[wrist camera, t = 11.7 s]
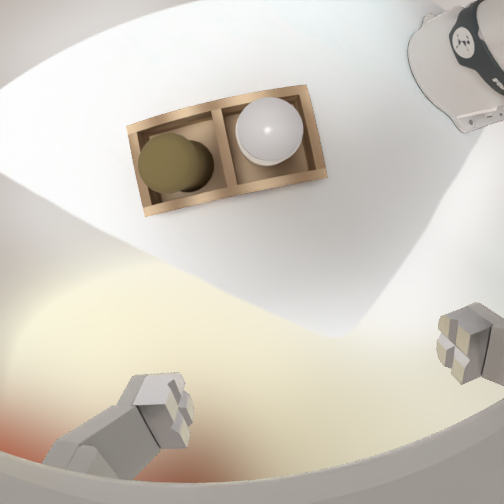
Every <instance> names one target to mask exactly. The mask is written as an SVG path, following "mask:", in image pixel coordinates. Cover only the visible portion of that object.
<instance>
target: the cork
mask: <svg viewBox="0 0 504 504" xmlns="http://www.w3.org/2000/svg"><path fill="white" fill-rule="evenodd" d="M138 171H139V174H140V177H141V179H142V180H143V182H144V183H145V185H147V186H148V187H149V188H151V189H152V190H153V191H156V192H159V193H162V194H172V193H175V192H178V191H181V192H194V191H197V190H200V189H201V188H202V187H204V186H205V185H206V184H207V183H208V182H209V180H210V179H211V177H212V174H213V171H214V160H213V156H212V154H211V152H210V151H209V149H208V148H207V147H206V146H204V145H203V144H202V143H200V142H197V141H194V140H188V139H186V138H185V137H184V136H182V135H179V134H175V133H163V134H160V135H158V136H155V137H153V138H152V139H151V140H149V141H148V142H147V143H146V144H145V146H144V147H143V148H142V150H141V152H140V155H139V158H138Z"/></svg>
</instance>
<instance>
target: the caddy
mask: <svg viewBox="0 0 504 504" xmlns="http://www.w3.org/2000/svg"><path fill="white" fill-rule="evenodd" d="M265 97H274V98H279V99H282V100H284V101H286V102H288V103H289V104H291V105H292V106H293V107H294V108H295V109H296V110H297V111H298V113H299V115H300V117H301V119H302V122H303V136H302V140H301V143H300V146H299V147H298V149H297V150H296V152H295V153H294V154H293V155H292V156H290V157H289V158H288V159H286V160H284V161H282V162H280V163H279V164H277V165H275V166H272V167H267V168H262V167H257V166H254V165H252V164H251V163H249V162H248V161H247V160H246V159H245V158H244V157H243V155H242V153H241V151H240V148H239V145H238V142H237V138H236V123H237V120H238V118H239V116H240V114H241V113H242V111H243V110H244V108H245V107H246V106H247V105H248V104H250V103H251V102H253V101H255V100H257V99H260V98H265ZM127 132H128V138H129V143H130V149H131V154H132V159H133V164H134V169H135V174H136V179H137V183H138V188H139V192H140V197H141V201H142V206H143V210H144V214H145V217H148V216H152V215H156V214H160V213H164V212H168V211H172V210H176V209H180V208H184V207H188V206H192V205H197V204H201V203H205V202H209V201H214V200H218V199H223V198H227V197H232V196H236V195H241V194H246V193H250V192H255V191H260V190H265V189H270V188H275V187H280V186H285V185H290V184H296V183H301V182H307V181H312V180H318V179H323V178H328V177H327V172H326V167H325V162H324V157H323V152H322V148H321V143H320V138H319V134H318V129H317V125H316V121H315V116H314V112H313V108H312V104H311V100H310V96H309V92H308V88H307V84H306V85H298V86H291V87H284V88H277V89H271V90H265V91H259V92H254V93H248V94H243V95H238V96H233V97H228V98H224V99H219V100H215V101H211V102H206V103H202V104H198V105H194V106H191V107H187V108H183V109H179V110H176V111H172V112H169V113H165V114H162V115H159V116H155V117H152V118H149V119H146V120H143V121H140V122H137V123H134V124H131V125H128V126H127ZM163 133H175V134H179V135H182V136H184V137H185V138H186V139H188V140H194V141H197V142H200V143H202V144H203V145H204V146H206V147H207V148H208V149H209V151H210V152H211V154H212V156H213V160H214V171H213V174H212V177H211V179H210V180H209V182H208V183H207V184H206V185H205V186H204V187H202V188H201V189H200V190H197V191H194V192H181V191H178V192H175V193H172V194H162V193H159V192H156V191H153V190H152V189H151V188H149V187H148V186H147V185H145V183H144V182H143V180H142V179H141V177H140V174H139V171H138V158H139V155H140V152H141V150H142V148H143V147H144V146H145V144H146V143H147V142H148V141H149V140H151V139H152V138H153V137H155V136H158V135H160V134H163Z"/></svg>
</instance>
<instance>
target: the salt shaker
mask: <svg viewBox="0 0 504 504" xmlns="http://www.w3.org/2000/svg"><path fill="white" fill-rule="evenodd" d="M302 136H303V122H302V119H301V117H300V115H299V113H298V111H297V110H296V109H295V108H294V107H293V106H292V105H291V104H289V103H288V102H286V101H284V100H282V99H279V98H274V97H265V98H260V99H257V100H255V101H253V102H251V103H250V104H248V105H247V106H246V107H245V108H244V110H243V111H242V113H241V114H240V116H239V118H238V120H237V123H236V138H237V142H238V145H239V148H240V151H241V153H242V155H243V157H244V158H245V159H246V160H247V161H248V162H249V163H251V164H252V165H254V166H257V167H262V168H267V167H272V166H275V165H277V164H279V163H280V162H282V161H284V160H286V159H288V158H289V157H290V156H292V155H293V154H294V153H295V152H296V150H297V149H298V147H299V146H300V143H301V140H302Z"/></svg>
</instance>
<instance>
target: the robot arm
mask: <svg viewBox="0 0 504 504" xmlns="http://www.w3.org/2000/svg"><path fill="white" fill-rule="evenodd" d="M408 58H409V63H410V67H411V70H412V73H413V75H414V77H415V79H416V81H417V83H418V85H419V86H420V88H421V90H422V91H423V92H424V94H425V95H426V96H427V97H428V99H429V100H430V101H431V102H432V103H433V104H434V105H436V106H437V107H438V108H439V109H441V110H442V111H443V112H445V113H446V114H447V115H448V116H449V117H450V118H451V119H452V120H453V122H454V123H455V125H456V126H457V128H458V129H459V130H460V131H461V132H463V133H467V132H470V131H473V130H476V129H479V128H482V127H485V126H488V125H490V124H494V123H497V122H500V121H503V120H504V0H477V1H475V2H472V3H470V4H469V5H467V6H466V7H465V8H463V7H461V6H455V7H453V8H451V9H449V10H447V11H445V12H444V13H442V14H440V15H438V16H437V15H434V14H428V15H426V16H425V17H424V19H423V23H422V27H421V28H420V29H419V30H417V31H416V32H415V33H414V34H413V35H412V37H411V39H410V41H409V45H408ZM469 122H470V124H469ZM438 329H439V330H440V331H441V335H440V336H439V338H438V340H437V354H438V358H439V360H440V362H441V363H442V364H443V365H444V366H445V367H448V368H452V370H451V374H452V375H453V376H454V377H455V379H456V380H457V381H458V382H459V383H460V384H461V385H462V384H465V383H467V382H469V381H471V380H474V379H476V378H478V377H480V376H482V377H483V378H485V379H487V380H490V381H493V382H495V383H497V384H500V385H502V386H504V318H502V317H500V316H499V315H497V314H496V313H494V312H493V311H491V310H490V309H488V308H487V307H485V306H484V305H482V304H480V303H477V302H475V303H473V304H471V305H468V306H466V307H464V308H461V309H459V310H456V311H453V312H451V313H448V314H446V315H443V316H441V317H440V319H439V324H438ZM184 386H185V382H184V379H183V377H182V375H181V374H180V373H179V372H176V373H175V372H174V373H160V374H143V375H135V376H132V378H131V379H130V381H129V383H128V385H127V387H126V388H125V390H124V392H123V394H122V396H121V397H120V400H119V401H118V403H117V405H116V406H111V407H109V408H107V409H106V410H104V411H103V412H101V413H100V414H98V415H97V416H95V417H93V418H92V419H90V420H88V421H87V422H85V423H84V424H82V425H81V426H79V427H77V428H75V429H74V430H72V431H70V432H69V433H68V434H66V435H64V436H62V437H61V438H59V439H57V440H56V441H55V443H54V445H53V446H52V448H51V449H50V451H49V452H48V454H47V456H46V457H45V459H44V460H43V462H42V464H40V463H37V462H33V461H30V460H27V459H23V458H20V457H17V456H14V455H11V454H8V453H5V452H2V451H0V504H504V398H503V399H502V400H500V401H498V402H496V403H495V404H493V405H491V406H490V407H488V408H486V409H484V410H482V411H480V412H479V413H477V414H475V415H473V416H471V417H469V418H467V419H465V420H463V421H461V422H459V423H457V424H455V425H453V426H450V427H448V428H446V429H444V430H441V431H439V432H437V433H435V434H432V435H430V436H428V437H425V438H422V439H420V440H418V441H415V442H412V443H410V444H407V445H404V446H402V447H399V448H396V449H393V450H390V451H387V452H384V453H381V454H378V455H375V456H371V457H368V458H364V459H361V460H357V461H354V462H350V463H346V464H342V465H338V466H334V467H330V468H325V469H320V470H316V471H311V472H305V473H300V474H294V475H289V476H281V477H275V478H267V479H258V480H248V481H237V482H221V483H220V482H219V483H163V482H146V481H135V480H134V481H133V480H132V479H133V478H134V477H135V476H136V475H137V474H138V473H139V472H140V471H141V470H142V469H143V468H144V467H145V466H146V465H147V464H148V463H149V462H150V461H151V460H152V459H153V458H154V457H155V456H156V455H157V454H158V453H159V452H160V449H182V448H187V447H188V442H189V437H190V431H189V428H188V426H190V425H191V424H192V423H193V418H194V407H193V403H192V399H191V397H190V394H188V393H187V392H185V391H184V390H183V389H184Z"/></svg>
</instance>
